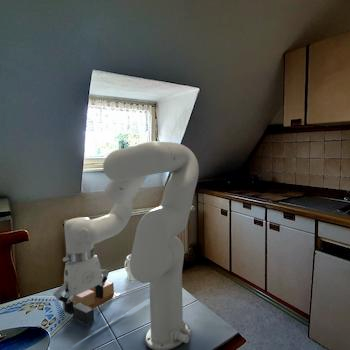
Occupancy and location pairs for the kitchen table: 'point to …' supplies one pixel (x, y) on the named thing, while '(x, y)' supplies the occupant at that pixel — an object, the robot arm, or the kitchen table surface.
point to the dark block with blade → (82, 313)
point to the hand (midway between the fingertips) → (85, 305)
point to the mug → (128, 270)
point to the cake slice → (84, 298)
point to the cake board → (103, 300)
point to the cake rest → (106, 289)
